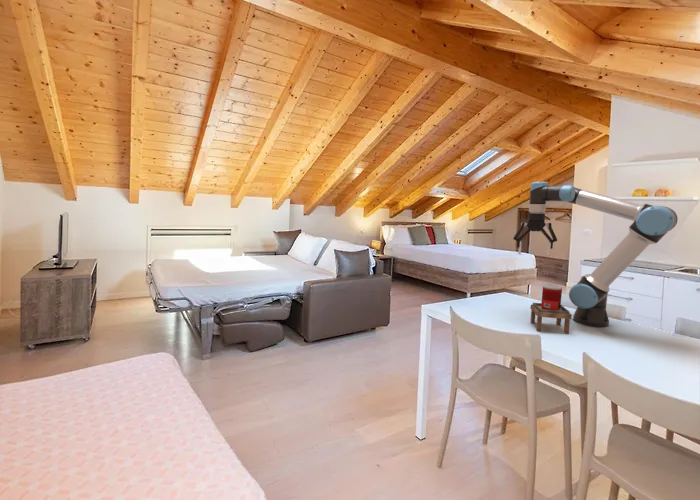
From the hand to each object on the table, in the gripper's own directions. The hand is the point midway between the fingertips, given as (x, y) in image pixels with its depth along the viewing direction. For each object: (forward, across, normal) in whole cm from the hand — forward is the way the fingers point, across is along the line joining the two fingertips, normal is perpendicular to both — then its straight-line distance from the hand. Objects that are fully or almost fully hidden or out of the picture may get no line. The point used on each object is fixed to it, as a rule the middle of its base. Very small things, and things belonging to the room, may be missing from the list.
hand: (533, 254), depth 192 cm
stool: (+33, -5, +17) cm, 37 cm away
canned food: (+24, -5, +17) cm, 30 cm away
